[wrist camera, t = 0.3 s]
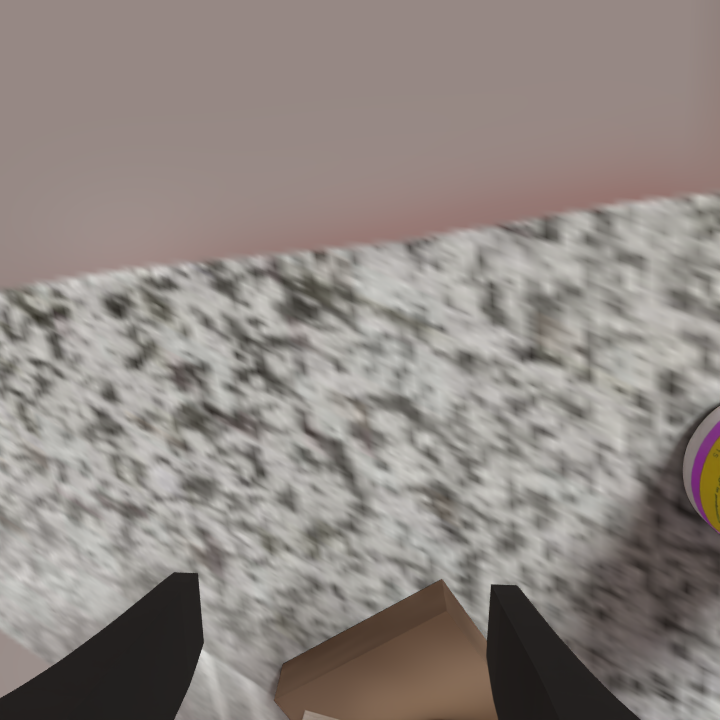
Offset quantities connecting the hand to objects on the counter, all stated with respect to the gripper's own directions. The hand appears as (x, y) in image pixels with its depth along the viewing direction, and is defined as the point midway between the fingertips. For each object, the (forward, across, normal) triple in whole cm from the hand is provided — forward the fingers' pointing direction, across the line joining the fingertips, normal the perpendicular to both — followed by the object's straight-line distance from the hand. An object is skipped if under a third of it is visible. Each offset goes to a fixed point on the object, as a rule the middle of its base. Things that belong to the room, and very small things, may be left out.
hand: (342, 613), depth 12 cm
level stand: (+10, -4, +14) cm, 18 cm away
